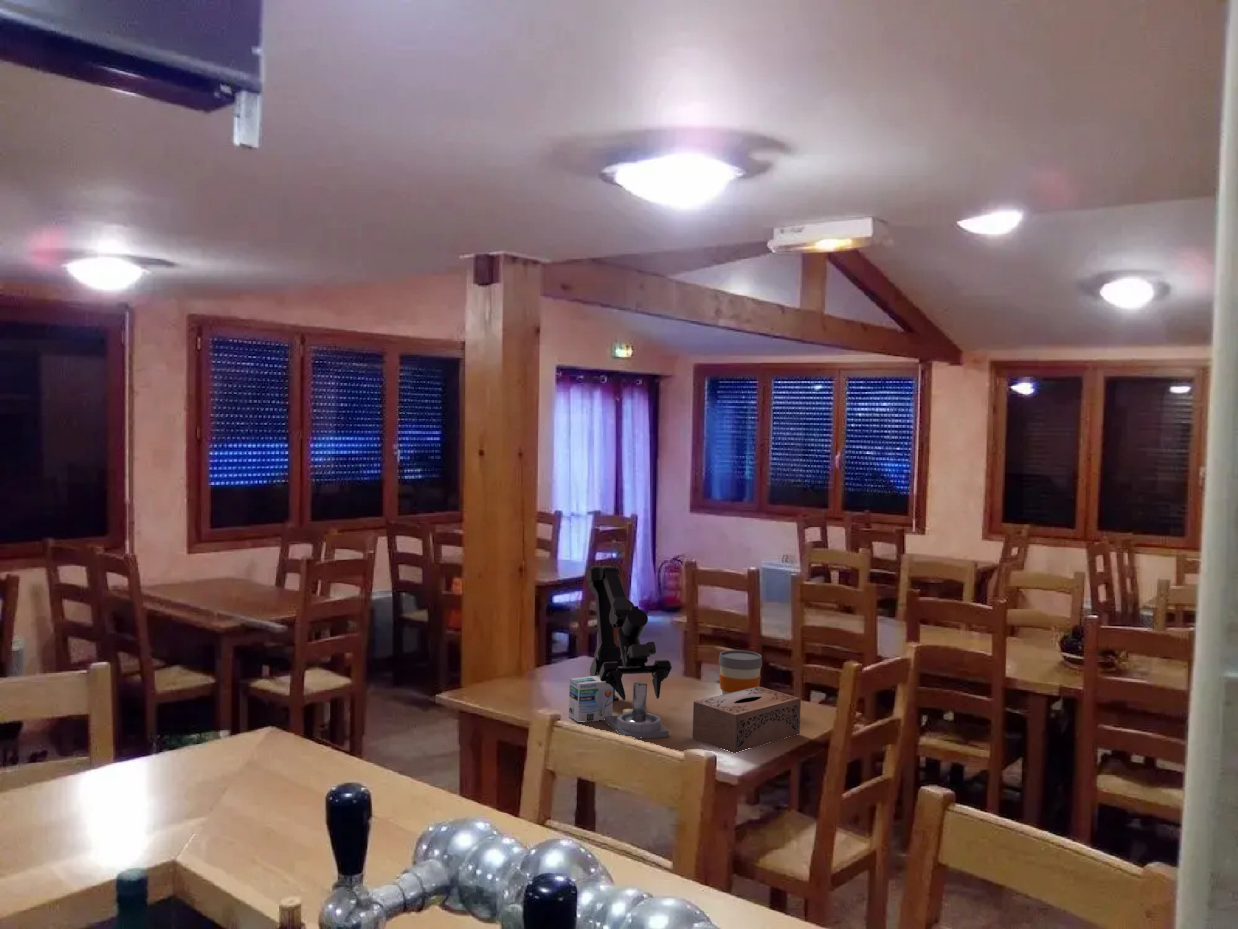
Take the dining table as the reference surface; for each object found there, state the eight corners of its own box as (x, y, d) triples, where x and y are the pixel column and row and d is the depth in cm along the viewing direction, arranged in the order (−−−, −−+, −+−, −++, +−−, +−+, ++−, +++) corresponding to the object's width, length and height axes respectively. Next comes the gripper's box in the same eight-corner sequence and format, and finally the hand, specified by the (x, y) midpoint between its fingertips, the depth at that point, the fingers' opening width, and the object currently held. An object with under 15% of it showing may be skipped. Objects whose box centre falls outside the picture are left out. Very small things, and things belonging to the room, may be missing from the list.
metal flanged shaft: (625, 721, 269) (626, 680, 268) (651, 722, 269) (652, 681, 268) (625, 729, 262) (627, 687, 261) (652, 730, 262) (654, 688, 261)
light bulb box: (577, 723, 270) (579, 684, 270) (567, 717, 276) (568, 678, 276) (613, 719, 275) (614, 680, 275) (602, 712, 281) (603, 674, 280)
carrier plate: (604, 722, 272) (604, 709, 272) (645, 718, 276) (646, 706, 276) (625, 740, 257) (625, 726, 257) (668, 736, 261) (669, 723, 261)
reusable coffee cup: (708, 705, 292) (710, 654, 291) (734, 697, 301) (736, 648, 300) (743, 715, 283) (745, 662, 282) (769, 707, 292) (771, 655, 292)
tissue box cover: (757, 722, 278) (758, 686, 277) (799, 735, 267) (800, 698, 267) (692, 739, 261) (693, 701, 260) (734, 754, 250) (735, 715, 249)
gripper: (603, 632, 265) (613, 684, 255) (670, 630, 270) (683, 681, 260) (594, 654, 273) (604, 706, 263) (660, 652, 278) (672, 703, 268)
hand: (641, 698), depth 263 cm, fingers open, 9 cm apart
